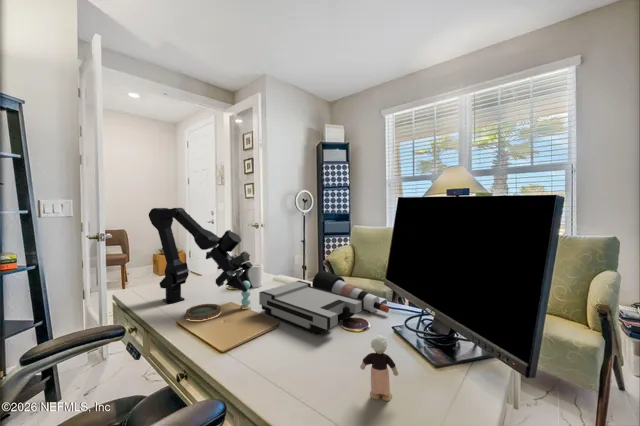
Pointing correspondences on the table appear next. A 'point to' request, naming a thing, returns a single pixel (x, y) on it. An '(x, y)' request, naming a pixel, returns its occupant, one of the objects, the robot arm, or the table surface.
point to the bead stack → (246, 296)
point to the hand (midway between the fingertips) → (249, 289)
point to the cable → (347, 290)
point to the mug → (256, 275)
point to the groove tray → (202, 311)
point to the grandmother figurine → (379, 369)
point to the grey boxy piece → (308, 306)
